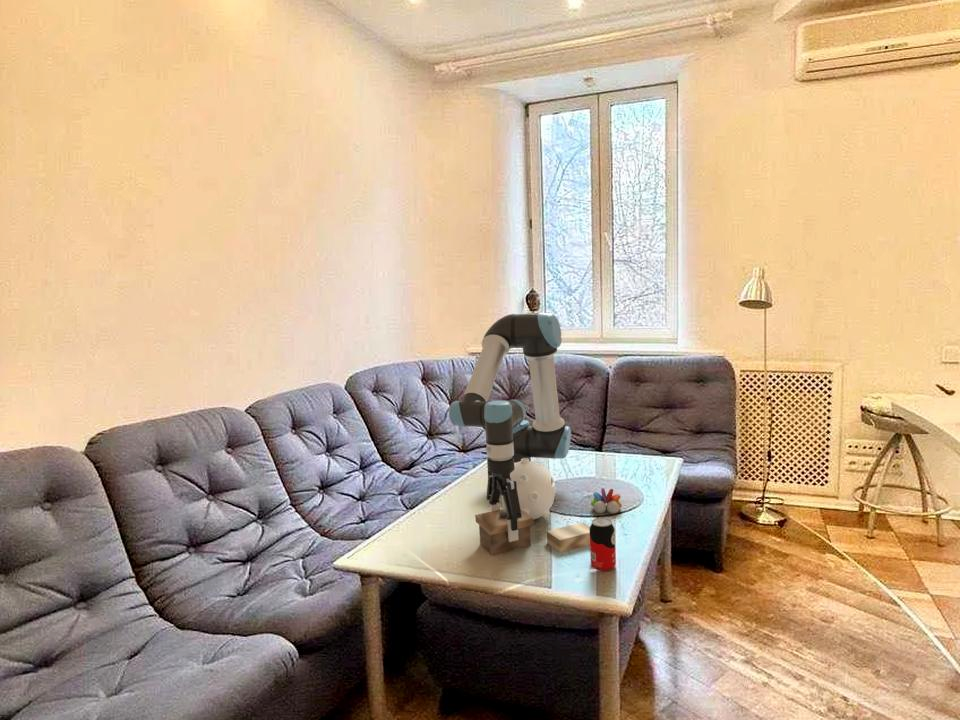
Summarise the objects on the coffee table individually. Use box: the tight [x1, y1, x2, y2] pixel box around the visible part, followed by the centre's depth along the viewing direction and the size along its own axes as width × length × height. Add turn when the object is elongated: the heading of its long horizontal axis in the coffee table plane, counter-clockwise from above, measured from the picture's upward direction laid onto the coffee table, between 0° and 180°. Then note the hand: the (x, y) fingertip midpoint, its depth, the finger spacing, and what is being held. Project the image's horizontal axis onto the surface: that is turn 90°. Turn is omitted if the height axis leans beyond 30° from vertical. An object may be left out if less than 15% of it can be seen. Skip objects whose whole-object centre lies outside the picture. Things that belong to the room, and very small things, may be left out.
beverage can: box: [589, 517, 617, 572], centre depth 152 cm, size 6×6×12 cm
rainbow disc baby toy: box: [590, 487, 623, 514], centre depth 189 cm, size 8×10×7 cm
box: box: [478, 524, 532, 556], centre depth 166 cm, size 12×8×7 cm, turn 113°
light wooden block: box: [546, 522, 591, 553], centre depth 166 cm, size 12×7×4 cm, turn 113°
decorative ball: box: [500, 458, 556, 520], centre depth 184 cm, size 20×17×20 cm
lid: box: [474, 508, 534, 535], centre depth 166 cm, size 13×10×3 cm
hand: (504, 533), depth 166 cm, fingers closed on lid, 10 cm apart
